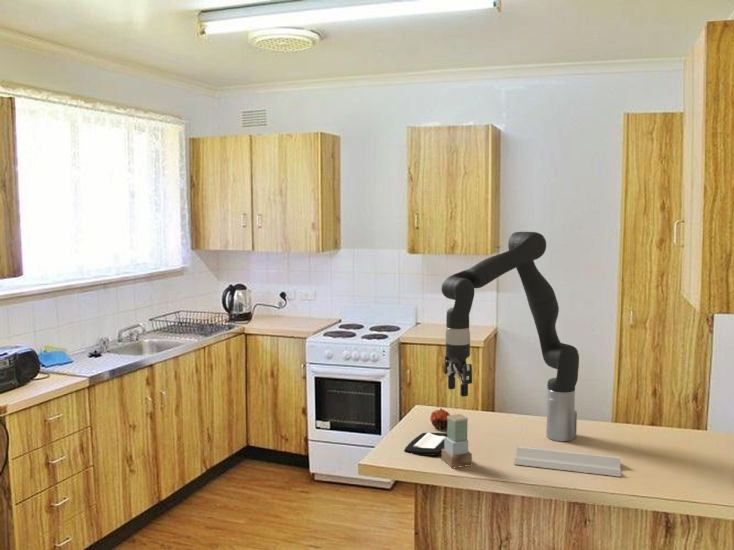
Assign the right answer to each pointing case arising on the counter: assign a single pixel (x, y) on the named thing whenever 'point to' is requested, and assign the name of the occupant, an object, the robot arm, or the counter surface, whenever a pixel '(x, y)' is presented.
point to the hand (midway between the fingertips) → (457, 392)
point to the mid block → (455, 446)
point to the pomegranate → (439, 418)
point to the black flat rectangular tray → (427, 444)
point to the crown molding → (568, 461)
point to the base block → (456, 459)
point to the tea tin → (457, 427)
